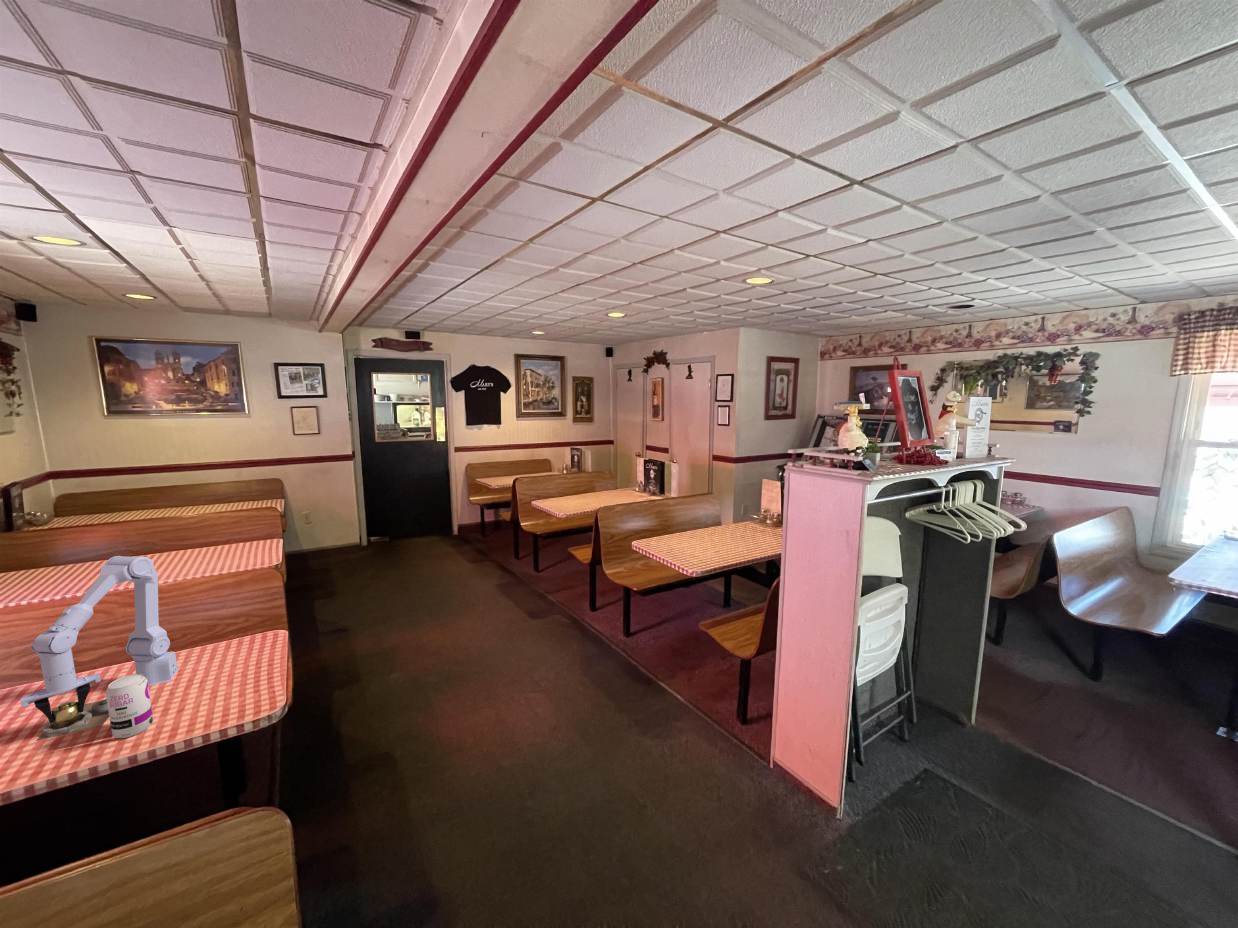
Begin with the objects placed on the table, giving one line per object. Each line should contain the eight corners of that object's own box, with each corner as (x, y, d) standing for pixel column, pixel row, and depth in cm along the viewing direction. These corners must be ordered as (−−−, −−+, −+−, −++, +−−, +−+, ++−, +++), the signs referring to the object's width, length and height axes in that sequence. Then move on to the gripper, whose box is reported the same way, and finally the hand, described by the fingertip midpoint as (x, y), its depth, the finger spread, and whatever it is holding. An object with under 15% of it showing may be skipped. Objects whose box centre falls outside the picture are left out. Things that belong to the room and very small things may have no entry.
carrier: (127, 696, 149) (126, 686, 148) (101, 727, 135) (99, 716, 134) (69, 708, 143) (67, 697, 142) (35, 742, 129) (33, 730, 128)
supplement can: (151, 716, 140) (144, 669, 138) (155, 728, 135) (148, 679, 133) (111, 730, 134) (103, 682, 132) (114, 744, 128) (106, 693, 126)
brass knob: (82, 712, 138) (79, 696, 137) (78, 721, 135) (75, 704, 134) (56, 720, 135) (52, 703, 134) (52, 729, 131) (48, 712, 130)
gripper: (94, 656, 141) (101, 697, 143) (16, 679, 129) (24, 724, 131) (99, 663, 137) (105, 706, 139) (18, 688, 125) (27, 734, 127)
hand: (66, 716), depth 134 cm, fingers closed on brass knob, 5 cm apart
